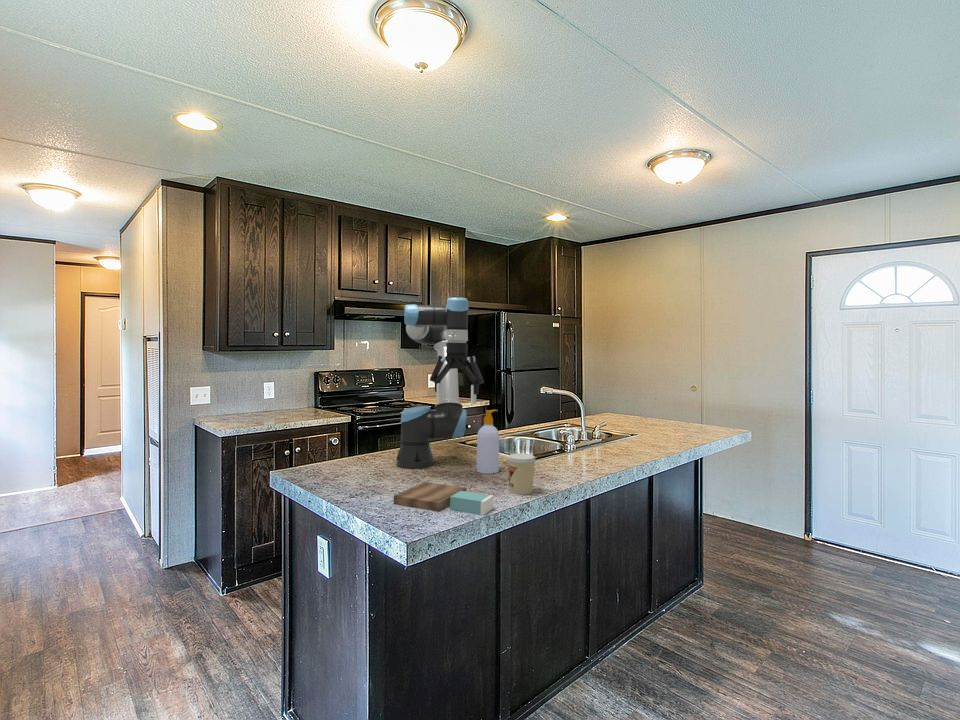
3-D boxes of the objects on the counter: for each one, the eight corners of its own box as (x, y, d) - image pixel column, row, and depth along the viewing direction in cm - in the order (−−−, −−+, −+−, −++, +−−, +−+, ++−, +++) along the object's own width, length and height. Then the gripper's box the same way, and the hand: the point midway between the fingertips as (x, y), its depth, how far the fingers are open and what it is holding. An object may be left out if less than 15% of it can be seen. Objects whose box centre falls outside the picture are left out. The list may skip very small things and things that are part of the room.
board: (393, 503, 159) (393, 495, 159) (424, 489, 175) (424, 481, 175) (438, 511, 152) (439, 503, 152) (466, 495, 168) (466, 488, 168)
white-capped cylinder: (505, 487, 178) (505, 453, 178) (531, 487, 179) (532, 453, 179) (508, 495, 169) (509, 459, 169) (537, 495, 170) (537, 459, 170)
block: (450, 496, 154) (483, 501, 149) (461, 490, 160) (493, 495, 156) (450, 509, 154) (483, 515, 150) (460, 503, 161) (493, 508, 156)
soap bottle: (504, 471, 202) (505, 410, 201) (488, 475, 195) (489, 412, 194) (488, 467, 208) (489, 408, 207) (471, 471, 201) (472, 410, 200)
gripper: (420, 341, 183) (420, 401, 184) (484, 342, 172) (483, 405, 173) (431, 341, 190) (430, 399, 190) (493, 342, 179) (492, 403, 180)
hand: (456, 402), depth 182 cm, fingers open, 13 cm apart
